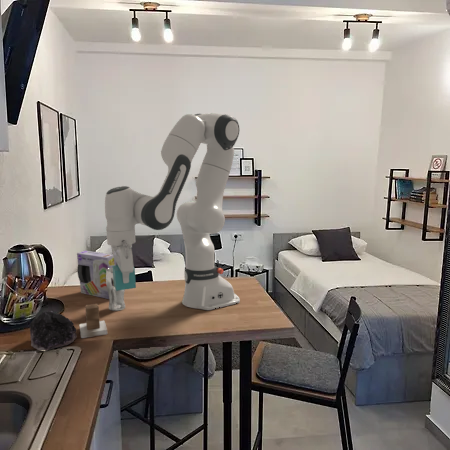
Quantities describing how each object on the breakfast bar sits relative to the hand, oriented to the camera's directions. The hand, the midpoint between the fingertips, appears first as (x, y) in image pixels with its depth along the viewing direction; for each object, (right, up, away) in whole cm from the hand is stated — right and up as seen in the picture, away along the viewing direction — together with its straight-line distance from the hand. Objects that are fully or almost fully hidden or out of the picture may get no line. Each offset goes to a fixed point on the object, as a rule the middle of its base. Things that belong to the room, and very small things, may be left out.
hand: (124, 279), depth 133 cm
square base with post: (-10, -17, 0) cm, 20 cm away
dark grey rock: (-20, -19, -8) cm, 28 cm away
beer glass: (-8, -14, +20) cm, 25 cm away
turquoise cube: (0, -2, 0) cm, 2 cm away
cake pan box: (-19, -11, +34) cm, 41 cm away
